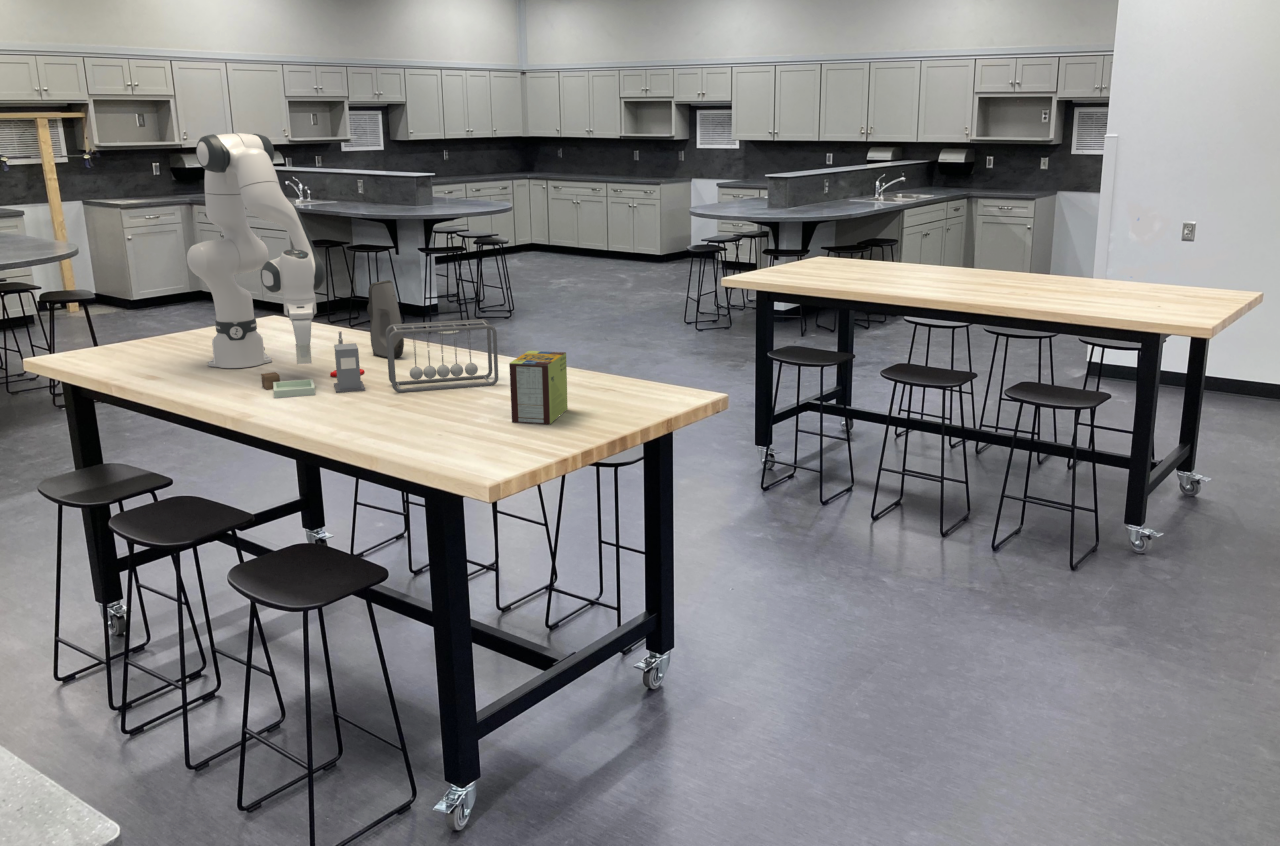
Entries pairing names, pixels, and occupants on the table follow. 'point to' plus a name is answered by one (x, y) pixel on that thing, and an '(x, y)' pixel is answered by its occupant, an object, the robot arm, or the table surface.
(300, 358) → the block
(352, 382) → the control box
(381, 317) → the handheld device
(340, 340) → the tow hook
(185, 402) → the table surface
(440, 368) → the newton's cradle
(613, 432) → the table surface
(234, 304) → the robot arm
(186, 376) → the table surface
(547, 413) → the protein box
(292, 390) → the tray
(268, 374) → the walnut block
